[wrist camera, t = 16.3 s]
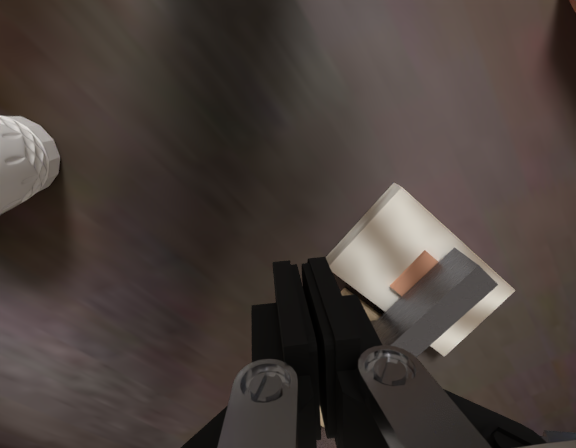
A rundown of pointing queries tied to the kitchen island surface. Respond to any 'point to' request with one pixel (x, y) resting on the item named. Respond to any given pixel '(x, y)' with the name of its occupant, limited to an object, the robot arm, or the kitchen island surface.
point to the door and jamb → (405, 260)
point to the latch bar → (434, 303)
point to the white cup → (24, 160)
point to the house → (573, 4)
